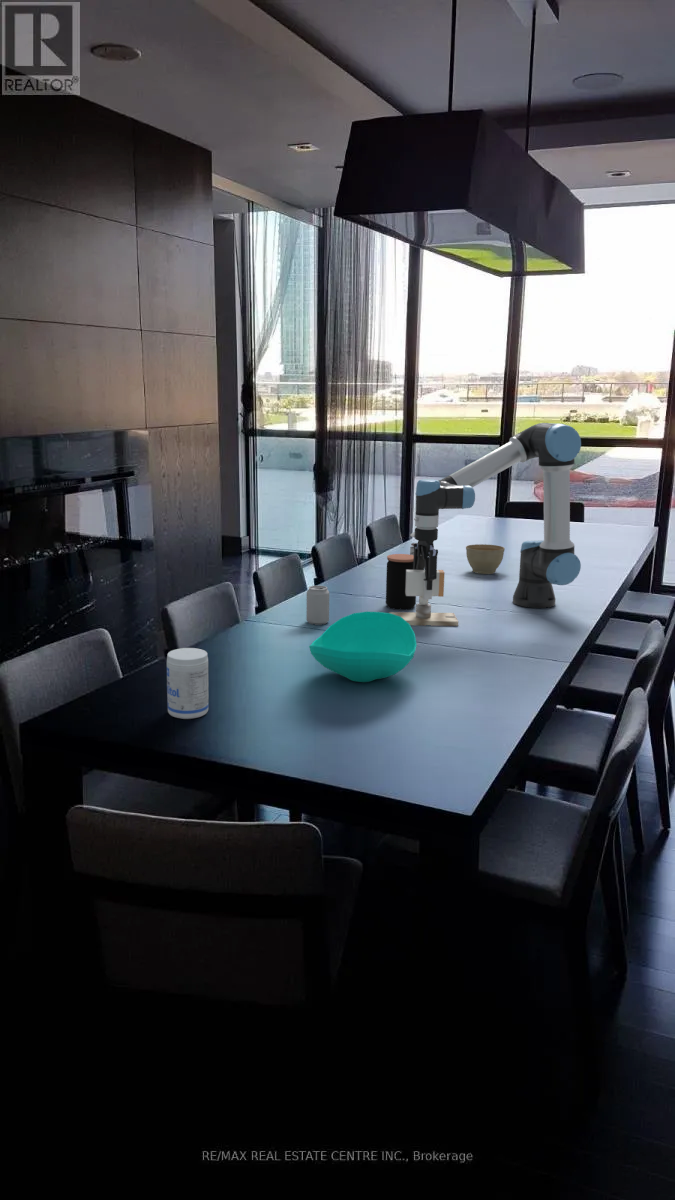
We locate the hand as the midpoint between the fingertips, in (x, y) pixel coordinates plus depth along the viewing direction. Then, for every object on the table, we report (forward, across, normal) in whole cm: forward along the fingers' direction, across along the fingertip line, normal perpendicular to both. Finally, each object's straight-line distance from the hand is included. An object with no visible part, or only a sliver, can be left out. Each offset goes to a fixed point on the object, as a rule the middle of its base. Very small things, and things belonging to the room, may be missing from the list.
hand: (423, 597), depth 285 cm
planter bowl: (+8, -64, +60) cm, 88 cm away
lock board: (+8, 0, 0) cm, 8 cm away
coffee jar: (+8, -20, +1) cm, 22 cm away
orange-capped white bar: (+2, 0, 0) cm, 2 cm away
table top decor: (+8, +48, -40) cm, 63 cm away
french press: (+8, -83, +39) cm, 92 cm away
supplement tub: (+8, +59, -89) cm, 107 cm away
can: (+8, -9, -34) cm, 36 cm away
